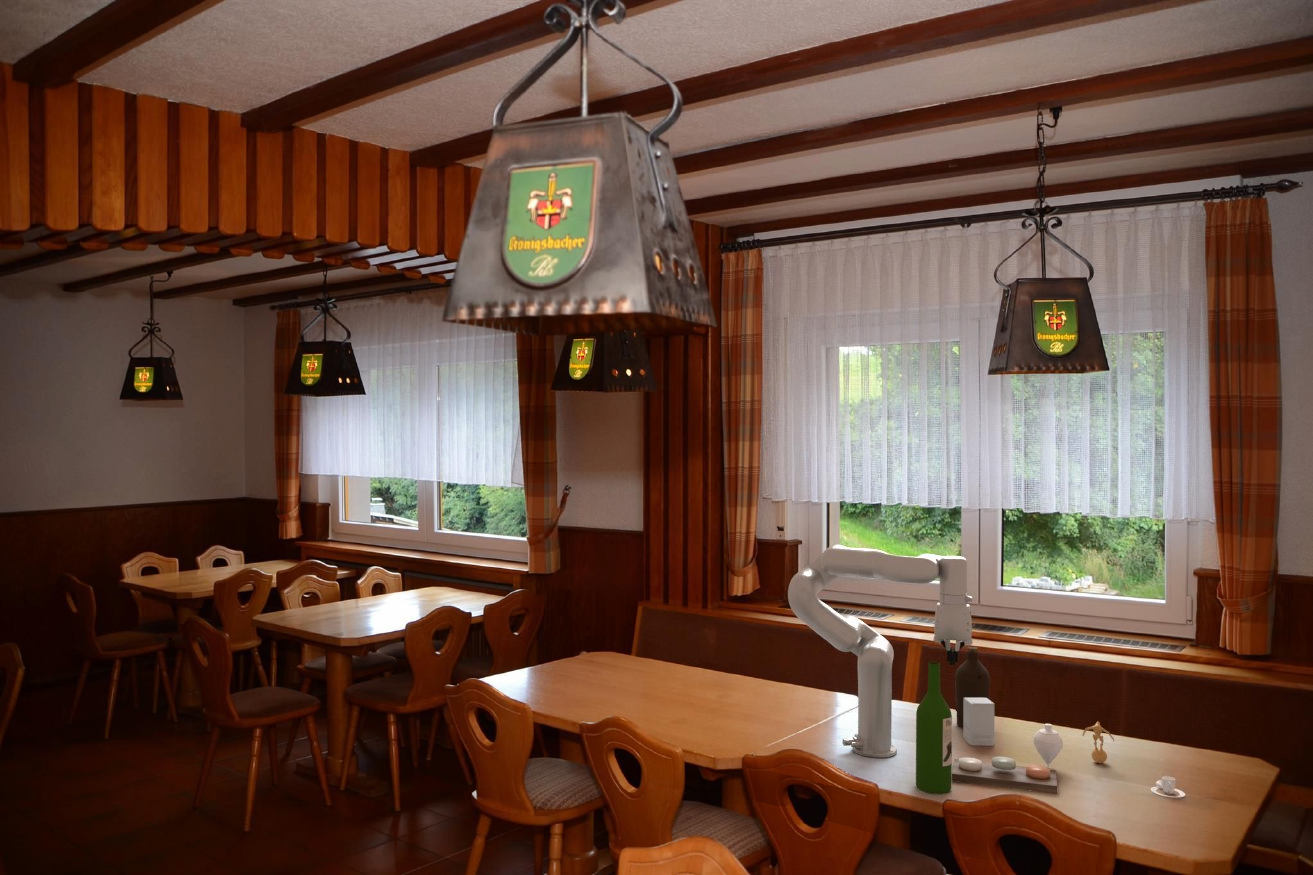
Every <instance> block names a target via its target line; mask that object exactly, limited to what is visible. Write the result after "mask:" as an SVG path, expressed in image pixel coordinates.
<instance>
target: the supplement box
mask: <svg viewBox="0 0 1313 875" xmlns="http://www.w3.org/2000/svg"><path fill="white" fill-rule="evenodd" d="M962 729H963V732H962V736H963V737H962V738H963V740H964V741H965V742H967V743H968V744H969V745H970V746H979V747H980V746H983V747H986V746H988V747H990V746H995V703H994V702H993V701H992V700H990V698H989V699H988V698H964V701H963V728H962Z"/></svg>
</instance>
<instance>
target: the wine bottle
mask: <svg viewBox="0 0 1313 875" xmlns="http://www.w3.org/2000/svg"><path fill="white" fill-rule="evenodd" d="M927 667H928V670H927V671H928V673H927V676H928V678H927V692H926V694H925V696H924V697H923V699H922V700H921V701H920V703H919V704H918V706H917V709H916V713H915V716H916V717H915V785H916V789H917V790H918V791H921V792H923V793H926V794H933V795H944V794H949V793H950V792H951V791H952V769H953V765H952V762H953V760H952V759H953V758H952V753H953V752H952V751H953V750H952V747H953V745H952V743H953V742H952V741H953V715H952V711H951V708H950V707H949V704H948V703H947V701H946V700H945V698H944V696H943V695H942V692H941V663H939V662H937V661H931V662H928V666H927Z"/></svg>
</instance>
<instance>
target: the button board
mask: <svg viewBox="0 0 1313 875" xmlns="http://www.w3.org/2000/svg"><path fill="white" fill-rule="evenodd" d="M959 759H960V758H953V765H952V768H951V782H957V783H966V784H972V785H982V786H989V787H996V788H997V787H998V788H1005V789H1013V788H1015V789H1014V790H1022V791H1023V790H1024V791H1029V790H1031V792H1038V793H1048V794H1055V795H1058V782H1057V775H1056V770H1055V769H1050V777H1049V778H1046V779H1039V778H1033V777H1030V776H1028V775H1026V766H1023V765H1022V766H1021V765H1016V768H1015V769H1013V770H1002V769H997V768H995V767H993V766H992V762H986V761H985V762H984V761H982V769H981V770H978V771H970V770H965V769H962V768H960V767H959Z"/></svg>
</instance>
